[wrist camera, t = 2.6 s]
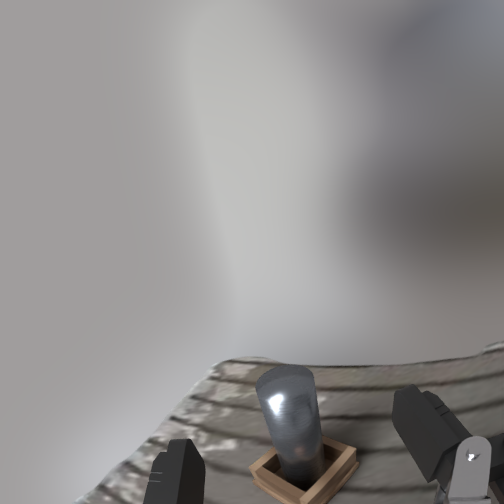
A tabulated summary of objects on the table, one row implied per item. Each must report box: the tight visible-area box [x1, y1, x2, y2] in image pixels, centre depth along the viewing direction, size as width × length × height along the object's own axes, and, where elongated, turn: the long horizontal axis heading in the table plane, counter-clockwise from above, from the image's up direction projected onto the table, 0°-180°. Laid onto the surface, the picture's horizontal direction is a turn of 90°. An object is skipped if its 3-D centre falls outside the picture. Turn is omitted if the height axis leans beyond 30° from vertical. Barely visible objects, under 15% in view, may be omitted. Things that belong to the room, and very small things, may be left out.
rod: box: [256, 365, 326, 490], centre depth 23 cm, size 5×5×16 cm
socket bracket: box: [249, 435, 359, 504], centre depth 25 cm, size 9×9×4 cm
